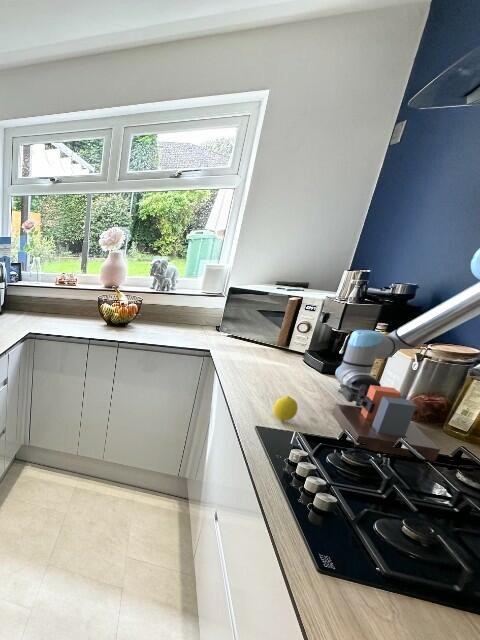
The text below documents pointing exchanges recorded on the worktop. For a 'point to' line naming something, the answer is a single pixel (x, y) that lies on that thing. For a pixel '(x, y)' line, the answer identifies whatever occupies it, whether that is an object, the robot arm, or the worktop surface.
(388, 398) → the pad
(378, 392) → the pad
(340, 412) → the dock
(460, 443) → the worktop surface
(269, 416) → the worktop surface
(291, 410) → the lemon
